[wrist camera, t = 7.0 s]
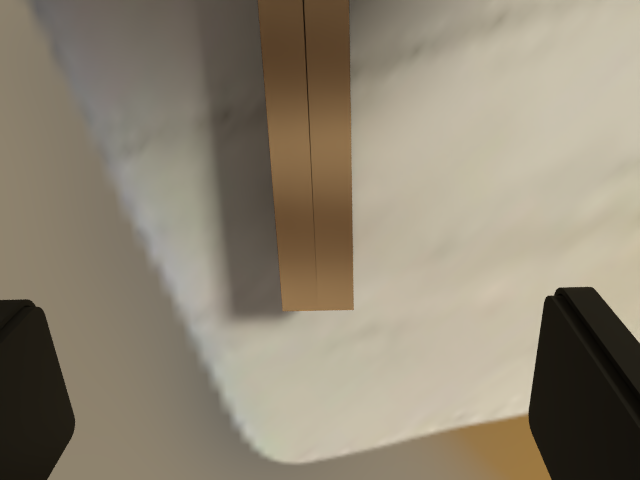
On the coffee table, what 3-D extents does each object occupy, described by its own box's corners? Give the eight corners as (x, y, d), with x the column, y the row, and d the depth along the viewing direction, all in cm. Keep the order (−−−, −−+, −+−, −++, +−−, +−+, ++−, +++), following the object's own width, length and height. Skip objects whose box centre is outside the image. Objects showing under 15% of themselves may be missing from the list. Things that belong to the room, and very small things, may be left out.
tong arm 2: (298, -275, 19) (288, -336, 15) (342, -278, 19) (343, -339, 15) (320, 267, 27) (318, 310, 24) (351, 266, 27) (353, 309, 24)
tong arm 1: (251, -272, 19) (230, -332, 15) (295, -275, 19) (285, -336, 15) (289, 267, 28) (282, 311, 24) (320, 267, 27) (318, 310, 24)
